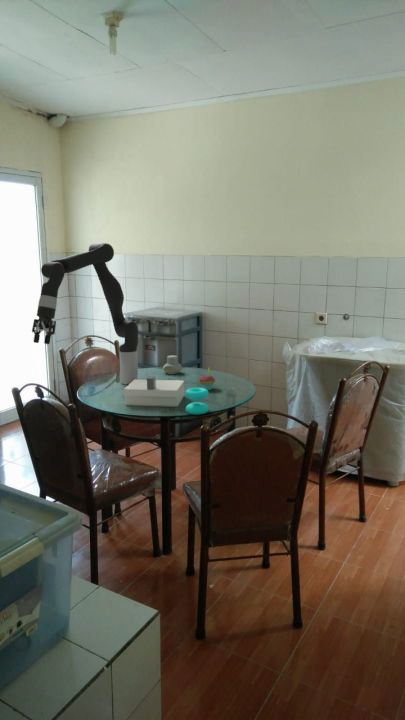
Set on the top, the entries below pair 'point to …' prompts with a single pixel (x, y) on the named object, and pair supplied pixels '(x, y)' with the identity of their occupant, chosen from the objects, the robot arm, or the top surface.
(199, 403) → the donuts
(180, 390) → the mailer base
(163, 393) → the lid
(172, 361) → the air freshener
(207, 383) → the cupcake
